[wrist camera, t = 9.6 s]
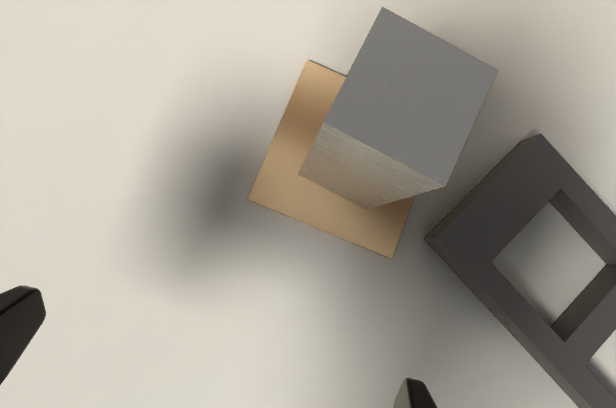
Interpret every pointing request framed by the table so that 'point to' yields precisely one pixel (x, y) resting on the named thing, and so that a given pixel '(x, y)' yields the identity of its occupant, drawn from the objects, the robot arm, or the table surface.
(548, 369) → the dark gray slotted board
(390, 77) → the gray block
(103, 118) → the table surface
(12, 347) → the robot arm
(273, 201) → the cork pad
